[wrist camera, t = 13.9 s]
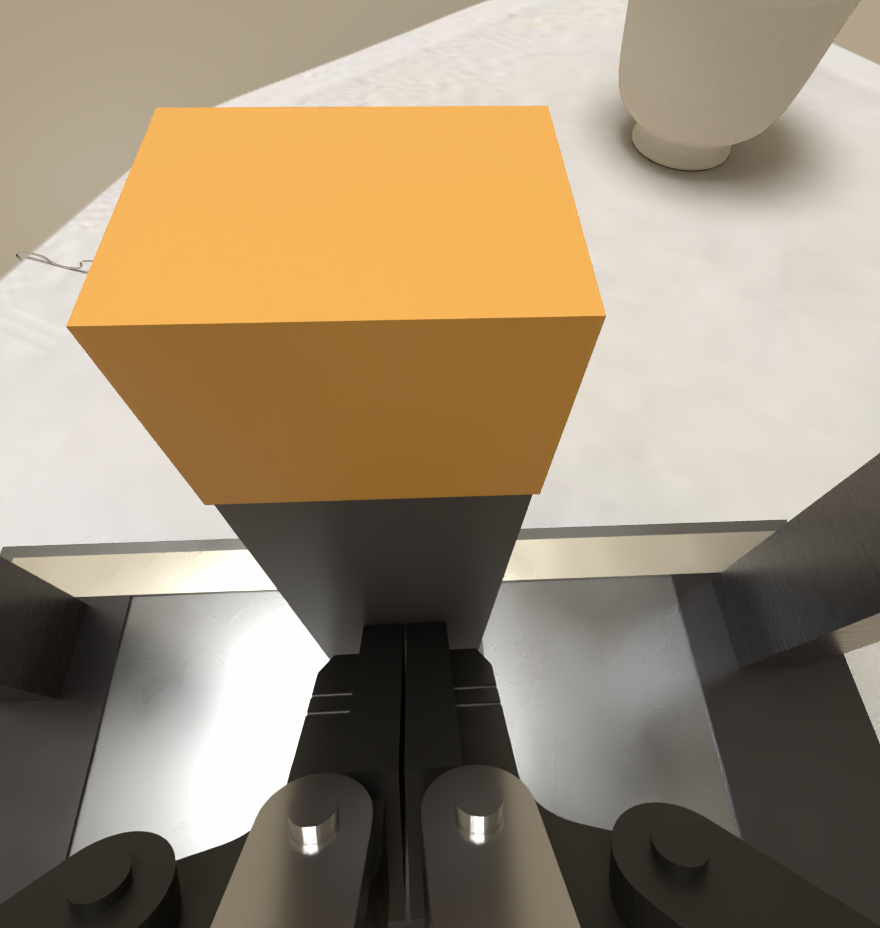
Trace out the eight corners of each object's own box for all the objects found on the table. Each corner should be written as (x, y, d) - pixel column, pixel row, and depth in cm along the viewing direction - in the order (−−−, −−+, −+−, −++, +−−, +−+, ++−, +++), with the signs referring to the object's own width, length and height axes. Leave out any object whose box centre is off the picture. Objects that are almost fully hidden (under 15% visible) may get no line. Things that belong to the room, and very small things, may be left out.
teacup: (744, 72, 37) (839, -144, 29) (813, 210, 29) (972, -30, 21) (565, 66, 37) (606, -153, 29) (588, 201, 29) (653, -42, 21)
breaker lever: (344, 582, 15) (156, 107, 5) (465, 578, 15) (548, 105, 5) (340, 679, 14) (67, 326, 3) (473, 673, 14) (606, 315, 3)
